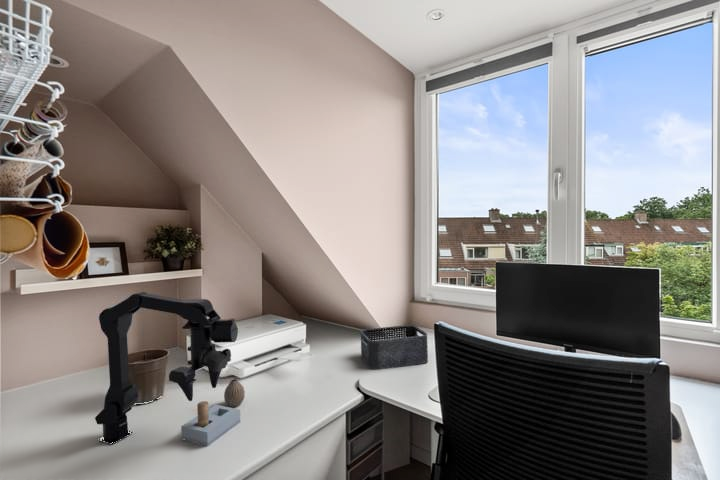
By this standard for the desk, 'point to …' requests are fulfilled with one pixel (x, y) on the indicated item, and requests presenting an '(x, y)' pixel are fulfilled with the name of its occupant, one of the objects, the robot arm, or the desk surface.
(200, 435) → the socket block
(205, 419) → the dowel
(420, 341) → the storage bin
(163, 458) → the desk surface
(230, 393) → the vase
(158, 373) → the plant pot
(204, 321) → the robot arm
